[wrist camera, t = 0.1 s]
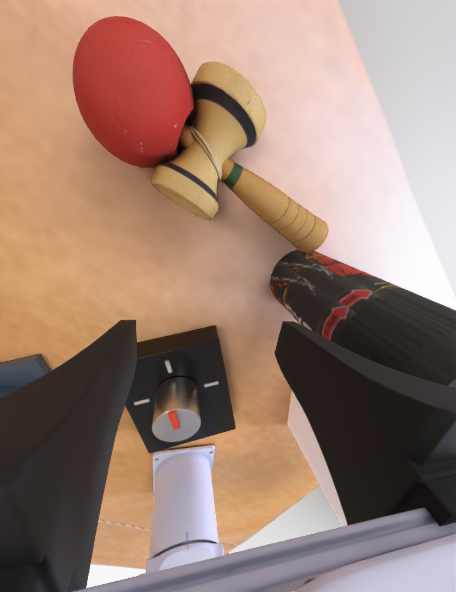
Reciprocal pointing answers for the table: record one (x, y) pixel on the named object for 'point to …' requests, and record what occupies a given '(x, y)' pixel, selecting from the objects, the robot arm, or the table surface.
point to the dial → (176, 410)
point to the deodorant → (368, 315)
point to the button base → (21, 373)
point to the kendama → (180, 124)
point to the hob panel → (181, 363)
